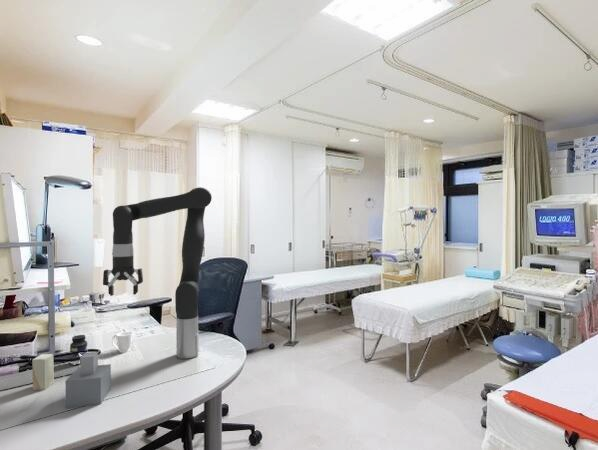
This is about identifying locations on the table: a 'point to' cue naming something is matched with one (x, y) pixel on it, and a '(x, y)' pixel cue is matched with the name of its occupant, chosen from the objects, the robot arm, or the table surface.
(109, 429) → the table surface
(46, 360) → the box
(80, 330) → the table surface
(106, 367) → the grey stepped block
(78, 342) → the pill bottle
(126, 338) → the cup
